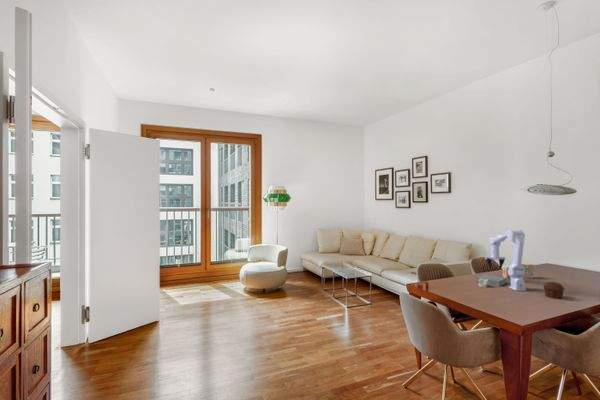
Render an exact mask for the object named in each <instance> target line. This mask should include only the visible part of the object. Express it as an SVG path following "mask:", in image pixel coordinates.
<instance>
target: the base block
mask: <svg viewBox="0 0 600 400" xmlns="http://www.w3.org/2000/svg"><path fill="white" fill-rule="evenodd" d="M479 279H487V280H488V286H494V287H500V286H501V287H502V286H503V285H505V284H507V282H508V281H507V279H508V278H505V277H503V276H498V275H492V274H485V273H484V274H482V275H479V276H477V277H476V283H479Z"/></svg>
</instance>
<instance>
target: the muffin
mask: <svg viewBox="0 0 600 400" xmlns="http://www.w3.org/2000/svg"><path fill="white" fill-rule="evenodd" d="M543 291H544V295H545V297H547V298H549V299H550V298H551V299H553V300H562V299H563V295H564V291H565V287H563V285H562V284H561V283H558V282H555V281H548V282H546V283H544V284H543Z"/></svg>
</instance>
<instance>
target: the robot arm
mask: <svg viewBox="0 0 600 400" xmlns="http://www.w3.org/2000/svg"><path fill="white" fill-rule="evenodd" d="M525 234H526V233H525V232H524V230H522V229H517V230H516V229H515V230H513V229H508V230H507V231H505V232H504V233H502V234H501V233H498V234H497V235H495V236H494V237H489V241H488V242H489V243H490V256H484V259H485V260H486V262H487V264H488V268H489V269H492V260H498V263H499V264H498V265H499V267H498V268H499V269H500V270H501V269H503V266H504V265H503V264H504V263H505V260H506V257H505V256H504V257H503V256H500V246H501V243H503V242H504V241H505V240H506V239H507V238H508V239H509V240H510V241H511V242H512V243H514V248H513V257H512V263H511V264H509V265H508V266H509V269H508V274H509V275H510V276H511V278H510V286H509V285H508V286H507V287H508V288H509V289H511V290H513V291H520V292H521V291H524V292H525V291H527V289H526V282H525V280H524V278H522V277H523V276H524V275H525V267H524V266H522V265H521V263H523V255H524V254H523V252H524V244H525V243H524V242H525V239H526V238H525V237H526V235H525Z"/></svg>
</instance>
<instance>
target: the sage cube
mask: <svg viewBox="0 0 600 400" xmlns="http://www.w3.org/2000/svg"><path fill="white" fill-rule="evenodd" d="M478 286H479V287H481V288H482V287H483V288H487V287H488V288H489V284H488V280H487V279H479V282H478Z"/></svg>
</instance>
